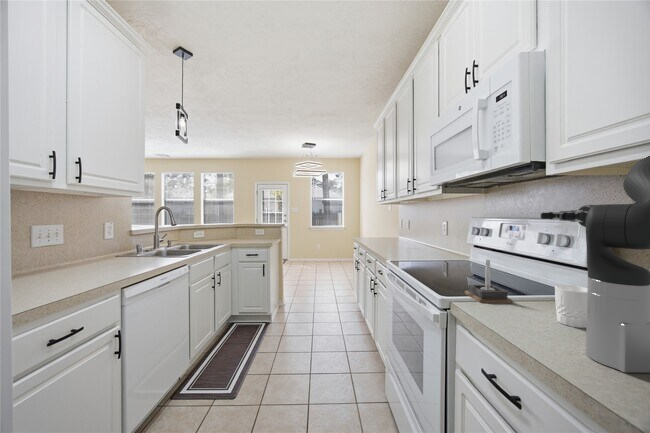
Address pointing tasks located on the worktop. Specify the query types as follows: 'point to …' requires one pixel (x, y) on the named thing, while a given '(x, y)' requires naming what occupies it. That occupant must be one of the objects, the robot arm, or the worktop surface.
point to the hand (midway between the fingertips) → (551, 216)
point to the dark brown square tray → (488, 294)
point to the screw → (487, 278)
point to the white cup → (571, 305)
